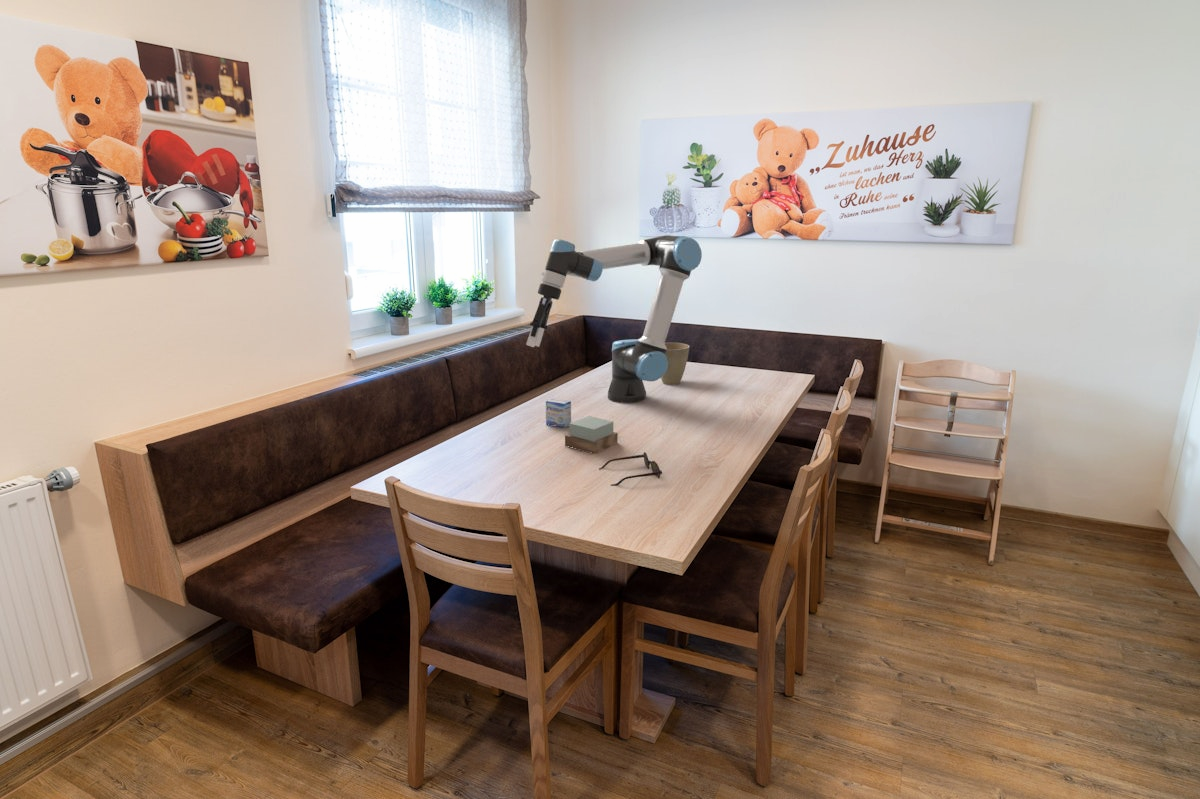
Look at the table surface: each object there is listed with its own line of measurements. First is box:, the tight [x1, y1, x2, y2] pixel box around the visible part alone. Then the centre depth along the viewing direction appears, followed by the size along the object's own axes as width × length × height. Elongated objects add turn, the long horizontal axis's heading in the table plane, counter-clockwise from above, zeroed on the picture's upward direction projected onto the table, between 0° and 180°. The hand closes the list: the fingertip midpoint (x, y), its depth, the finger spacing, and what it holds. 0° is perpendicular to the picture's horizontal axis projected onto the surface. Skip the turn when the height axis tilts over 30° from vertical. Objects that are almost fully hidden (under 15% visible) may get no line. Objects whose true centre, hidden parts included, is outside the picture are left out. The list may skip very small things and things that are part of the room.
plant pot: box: [660, 342, 690, 386], centre depth 303 cm, size 15×15×16 cm
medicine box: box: [545, 398, 572, 428], centre depth 250 cm, size 8×4×9 cm, turn 62°
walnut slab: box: [564, 431, 619, 454], centre depth 230 cm, size 12×12×4 cm
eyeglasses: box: [598, 451, 663, 487], centre depth 205 cm, size 15×15×5 cm
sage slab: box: [568, 415, 614, 442], centre depth 229 cm, size 10×10×4 cm
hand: (532, 346), depth 244 cm, fingers open, 13 cm apart
